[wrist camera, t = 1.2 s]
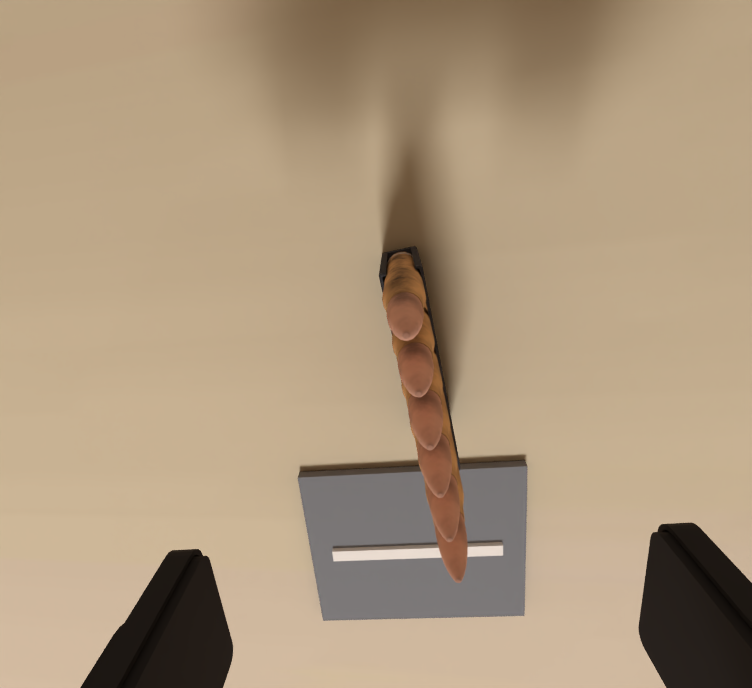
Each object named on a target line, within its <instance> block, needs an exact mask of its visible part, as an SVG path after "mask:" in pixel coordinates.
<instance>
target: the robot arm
mask: <svg viewBox="0 0 752 688" xmlns="http://www.w3.org/2000/svg"><path fill="white" fill-rule="evenodd" d="M639 635H640V638H641V641H642V644H643V646H644V648H645V650H646V652H647V654H648V656H649V657H650V659H651V661H652V663H653V665H654V666H655V668H656V670H657V672H658V673H659V675H660V677H661V679H662V680H663V682H664V684H665V686H666V688H752V583H751V582H750V581H749V580H748V579H747V578H746V576H745V575H744V574H743V573H742V572H741V571H740V570H739V569H738V568H737V567H736V566H735V565H734V564H733V563H732V562H731V560H730V559H729V558H728V557H727V556H726V555H725V554H724V553H723V552H722V551H721V550H720V549H719V548H718V547H717V546H716V544H715V543H714V542H713V541H712V540H711V539H710V538H709V537H708V536H707V535H706V534H705V533H704V532H703V531H702V530H701V529H700V528H699V527H698V526H697V525H696V524H694V523H676V524H661V525H660V526H659V528H658V532H654V533H652V535H651V539H650V546H649V554H648V561H647V569H646V576H645V583H644V591H643V598H642V606H641V613H640V621H639ZM232 656H233V644H232V639H231V636H230V632H229V629H228V625H227V621H226V618H225V614H224V610H223V607H222V603H221V599H220V596H219V592H218V588H217V585H216V581H215V578H214V574H213V570H212V567H211V563H210V560H209V558H208V557H207V556H203V555H202V553H201V551H200V550H199V549H191V550H172V551H171V552H169V553H168V554H167V556H166V557H165V559H164V560H163V562H162V563H161V565H160V567H159V568H158V570H157V572H156V573H155V575H154V576H153V578H152V580H151V581H150V583H149V584H148V586H147V588H146V589H145V591H144V592H143V594H142V596H141V597H140V599H139V601H138V602H137V604H136V605H135V607H134V609H133V610H132V612H131V613H130V615H129V617H128V618H127V620H126V621H125V623H124V624H123V625H122V626H120V627H119V629H118V630H117V631H116V632H115V634H114V635H113V637H112V638H111V640H110V641H109V643H108V645H107V646H106V648H105V649H104V651H103V653H102V654H101V656H100V657H99V659H98V661H97V662H96V664H95V665H94V667H93V668H92V670H91V672H90V673H89V675H88V676H87V678H86V680H85V681H84V683H83V684H82V686H81V688H223V686H224V683H225V680H226V677H227V674H228V671H229V668H230V665H231V661H232Z"/></svg>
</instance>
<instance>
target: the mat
mask: <svg viewBox="0 0 752 688" xmlns="http://www.w3.org/2000/svg"><path fill="white" fill-rule="evenodd" d="M460 468H461V469H460V470H459V473H460V478H461V482H462V487H463V492H464V504H463V510H464V517H465V528H466V533H467V545H468V555H467V565H466V570H465V574H464V577H463V580H462V581H461V582H460V583H456V582H455V581H454V580H453V578H452V577H451V576H450V574H449V573H448V571H447V569H446V567H445V564H444V562H443V560H442V557H441V554H440V551H439V547H438V543H437V539H436V533H435V526H434V523H433V518H432V514H431V511H430V507H429V504H428V501H427V497H426V490H425V482H424V476H423V474H422V472H421V469H420V466H406V467H386V468H367V469H347V470H327V471H308V472H300V473H299V476H298V482H299V488H300V493H301V499H302V504H303V510H304V516H305V521H306V527H307V532H308V538H309V544H310V549H311V555H312V560H313V566H314V572H315V577H316V583H317V589H318V594H319V600H320V605H321V611H322V617H323V621H325V620H367V619H409V618H451V617H493V616H524V611H525V562H526V513H527V464H526V462H525V460H524V461H504V462H485V463H465V464H460Z"/></svg>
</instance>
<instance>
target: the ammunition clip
mask: <svg viewBox="0 0 752 688" xmlns="http://www.w3.org/2000/svg"><path fill="white" fill-rule="evenodd" d="M379 278H380V283H381V287H382V292H383V298H382V300H383V305H384V308H385V310H386V312H387V319H388V324H389V327H390V329H391V332H392V345H393V349H394V353H395V355H396V356H397V361H398V368H399V373H400V377H401V382H402V390H403V394H404V396H405V398H406V400H407V406H408V411H409V418H410V425H411V430H412V433H413V435H414V438H415V441H416V447H417V451H418V461H419V466H420V469H421V472H422V474H423V476H424V482H425V490H426V497H427V501H428V504H429V507H430V511H431V514H432V518H433V523H434V526H435V533H436V539H437V543H438V547H439V551H440V554H441V557H442V560H443V562H444V564H445V567H446V569H447V571H448V573H449V574H450V576H451V577H452V578H453V580H454V581H455V582H456V583H460V582H461V581H462V580H463V577H464V574H465V570H466V565H467V555H468V545H467V533H466V528H465V517H464V510H463V504H464V492H463V487H462V482H461V478H460V473H459V470H460V469H461V468H460V462H459V457H458V452H457V446H456V441H455V436H454V431H453V425H452V420H451V415H450V410H449V404H448V399H447V394H446V389H445V383H444V378H443V373H442V367H441V362H440V357H439V352H438V346H437V341H436V336H435V331H434V325H433V320H432V315H431V310H430V304H429V299H428V294H427V288H426V283H425V278H424V273H423V267H422V264H421V261H420V257H419V254H418V251H417V248H416V247H415V246H413V247H408V248H404V249H399V250H395V251H390V252H386V253H383V254H382V258H381V265H380V272H379Z"/></svg>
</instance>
